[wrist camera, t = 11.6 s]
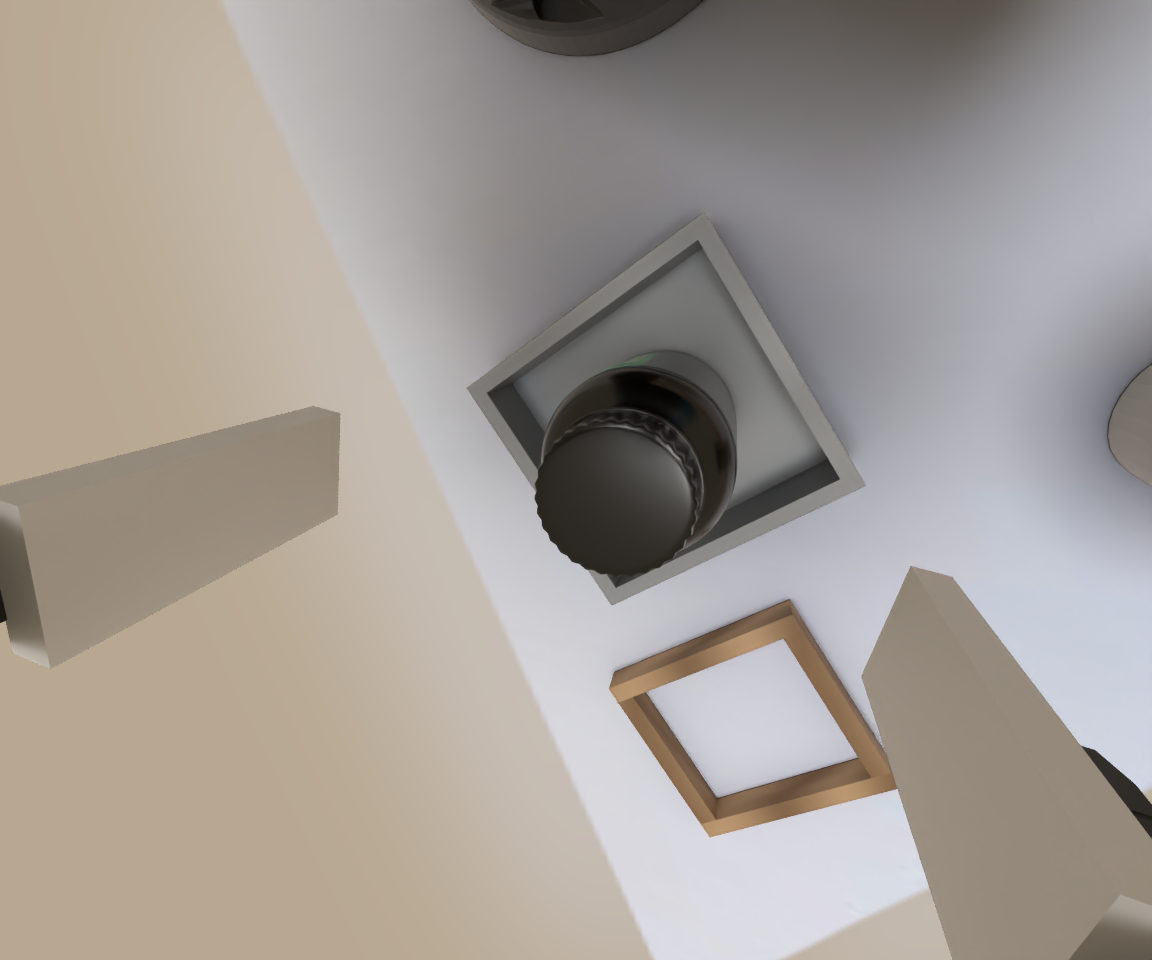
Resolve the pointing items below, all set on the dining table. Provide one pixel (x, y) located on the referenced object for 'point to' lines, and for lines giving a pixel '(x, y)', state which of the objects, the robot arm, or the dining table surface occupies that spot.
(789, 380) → the bin
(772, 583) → the dining table surface
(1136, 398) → the coffee cup
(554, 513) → the supplement bottle
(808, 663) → the wooden square frame
